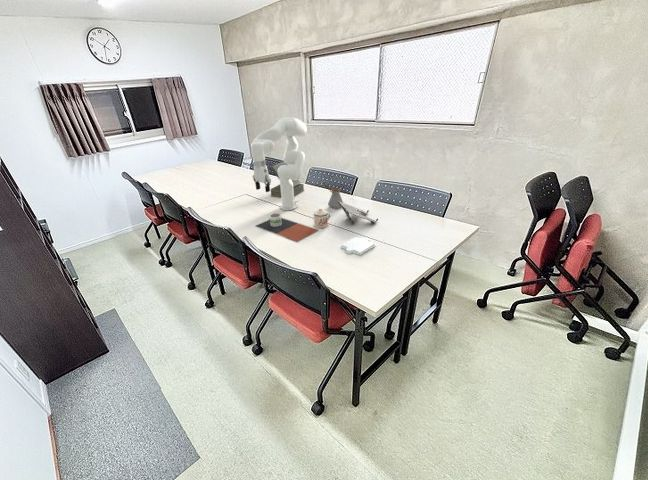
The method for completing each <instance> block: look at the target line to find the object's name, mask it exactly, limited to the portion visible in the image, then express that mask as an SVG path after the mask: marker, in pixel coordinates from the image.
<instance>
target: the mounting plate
mask: <svg viewBox="0 0 648 480" xmlns="http://www.w3.org/2000/svg"><path fill="white" fill-rule="evenodd" d="M375 245H376V243H375V242H372V241H370V239H369V238H368V237H363V238H361V237H357V236H354V237H353V238H350V239H349V240H347V241H345V242H344V243H342V244H340V248H341V249H343V250H345V252H346V253H347V254H349V255H351V254H356V255H358V256H362V255H363V254H365V253H367V252H368V251H370V250H371V249H372V248H374V247H375Z"/></svg>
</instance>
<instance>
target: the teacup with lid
mask: <svg viewBox="0 0 648 480" xmlns="http://www.w3.org/2000/svg"><path fill="white" fill-rule="evenodd" d="M330 218H331V214H330V212H328V211H327V210H326V209H323V208H321V207H320V208H318V209H317V210H314V212H313V221H314V222H313V225H314V227H315V228H317V229H323V228H327V227H328V221H329V220H330Z"/></svg>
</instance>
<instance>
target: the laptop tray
mask: <svg viewBox="0 0 648 480" xmlns="http://www.w3.org/2000/svg"><path fill="white" fill-rule="evenodd" d="M337 202H338V203H339V205H340V206H341V209H342V210H343V212H344V214H345V216H346V217H347V218H348V220H349V221H350V222H351V223H352V224H354V222H353V219H352V217H351V216H350V215H352V216H356V217H357V218H361V219H364V220H366V221H369V222H370V223H371V224H375V223H377V222H378V220H379V218H376V220H375V219H372V218H370V217H368V216H365V215H368V213H369V212H370V210H369V209H368V210H366V211H365V210H364V209H363V210H362V209H360V208H358V207H355V206H353V205H351V204H348V203H345V202H343V203H342V202H340V201H337ZM363 214H364V215H363Z"/></svg>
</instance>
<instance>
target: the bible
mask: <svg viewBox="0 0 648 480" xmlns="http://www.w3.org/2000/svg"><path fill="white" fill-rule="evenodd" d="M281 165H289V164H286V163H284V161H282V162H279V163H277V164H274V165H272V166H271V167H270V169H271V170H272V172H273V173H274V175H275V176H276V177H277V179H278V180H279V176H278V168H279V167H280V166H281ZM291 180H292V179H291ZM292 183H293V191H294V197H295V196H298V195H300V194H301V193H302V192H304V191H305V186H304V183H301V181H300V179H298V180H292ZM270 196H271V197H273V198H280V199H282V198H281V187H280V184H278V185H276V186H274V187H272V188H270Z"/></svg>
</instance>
